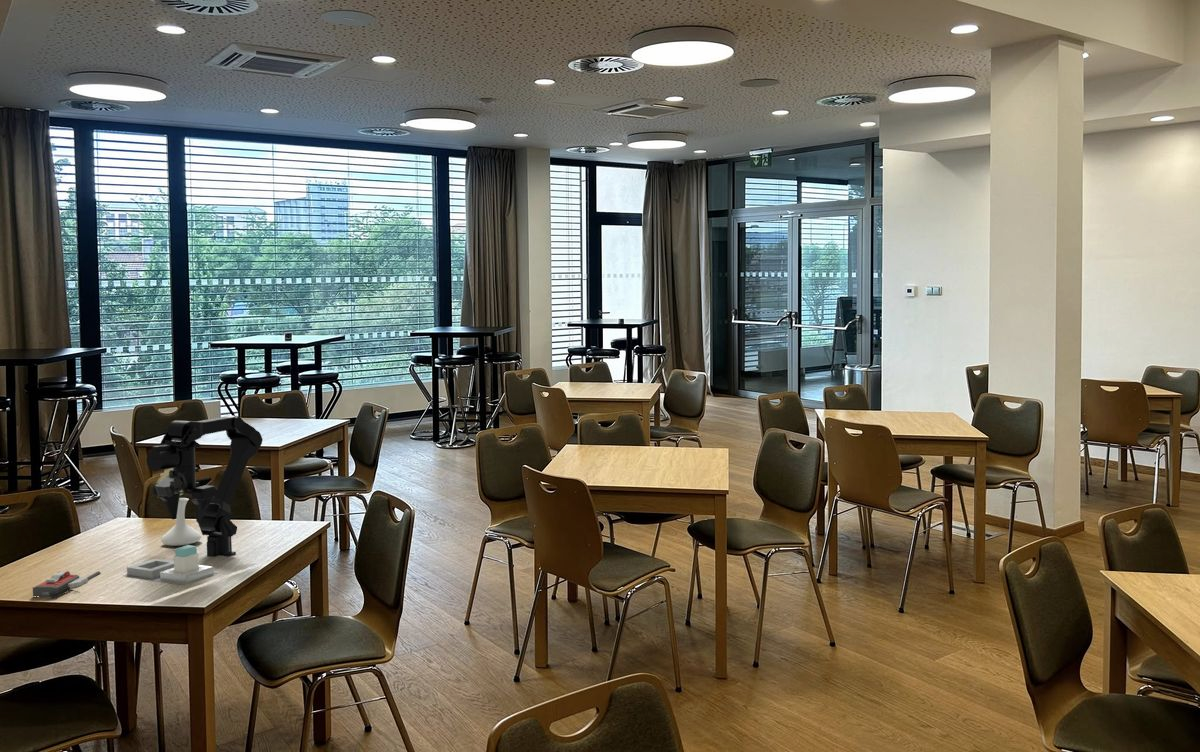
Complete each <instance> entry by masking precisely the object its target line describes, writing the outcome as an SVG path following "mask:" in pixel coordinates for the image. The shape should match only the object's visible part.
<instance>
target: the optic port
mask: <svg viewBox="0 0 1200 752" xmlns="http://www.w3.org/2000/svg"><path fill="white" fill-rule="evenodd" d="M213 572H214V566H211V565H203V564H199V569H197V570H194V571H191V572H188V573H185V574H183V573H176V572H174V568H172V569H168V570H165V571H162V572H160V580H166V581H173V582H179V583H188V584H190V583H189V582H191V583H193V582H192V581H194V580H197V579H200V578H203V577H206V576H208V577H210V576H209V575H211V576H213V575H212V574H213ZM206 578H207V577H206ZM203 579H204V578H203ZM200 580H201V579H200ZM197 581H198V580H197ZM194 582H195V581H194Z"/></svg>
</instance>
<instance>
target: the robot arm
mask: <svg viewBox="0 0 1200 752" xmlns="http://www.w3.org/2000/svg"><path fill="white" fill-rule="evenodd" d="M220 432H225V433H226V437H227V438H228V439H229V440H231V441H230V443H229V444H230V445H229V447H230V453H231V455H230V458H229V460H228V463H227V465H226V468H225V470H224V472H223V475H222V478H221V480H220V482H219V485H218V486H217V487H216V486H214V485H206V484H205V485H204V484H203V485H202V486H200V482H197V481H196V480H197V477H196V473H198V472H200V469H199V467H196V451H195V450H196V449H197V448H201V447H202V445H201V444H200V443H199V442H197V440H199V439H201V438H202V437H203V436H205V435H209V434H215V433H220ZM262 444H263V437H262V434H261V432H260V431H258V430H257V429H256V428H255V427H254V426H252V425H251V424H249V423H247V422H246V421H245V420H243V418H242V417H240V416H239V415H230V414H229V415H228V414H226V415H224V416H221V417H215V418H214V417H213V418H210V419H202V420H198V421H197V420H196V421H192V420H191V421H190V420H189V421H188V420H173V421H170V423H169V425H168V428H167V430H166V431H165V433H164V436H163V438H162V439H161V441H160V443H159V445H153V446H152V447H151V451H149V452H148V454H147V457H146V465H147V467H148V469H150V470H151V471H152V472H155V473H156V472H160V471H165V469H170V468H173V470H170V472H169V477H167V478H165V479H163V480H162V481H161V482H159V483H155V484H154V486H152V495H156V498H158V499H159V500H162V501H163V502H164V504H165V506H166V509H167V510H168V513H169V515H170V518H171V520H175V519H176V520H177V511H178V503H179V498H180V493H184V494H187V495H191V497H192V499H190V501H191V502H192V503H193V504H194V508H195V520H196V523H197V524H198V527H199V529H200V532H201V536H207V537H206V541H207V542H206V556H207V557H213V558H214V557H218V556H221V557H231V556H233V555H237V552H236V551H232V550H233V549H232V537H233V536H235V535H236V534H237V531H238V526H237V525H236V524H234V523H233V522H232V520H231V518H232V516H233V515H232V510H231V509H232V508H231V503H232V502H233V501H232V500H233V498H234V496H235V493H236V492H237V489H238V486H239V484H240V481H241V478H242V476H243V474H244V471H245V468H246V466H247V464H248V461H249V460H250V459H252V458H253V457H254V456H255V455H256V454H258V451H259V449H260V448H261V446H262ZM184 494H183V495H184Z"/></svg>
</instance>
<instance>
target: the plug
mask: <svg viewBox="0 0 1200 752" xmlns="http://www.w3.org/2000/svg"><path fill="white" fill-rule="evenodd" d="M174 555H175V556H174ZM174 555H173V561H174V572H176V573H183V574H185V573H188V572H191V571H194V570H197V569H199V565H200V564H199V563H200V562H199V553H198V552H197V545H192V544H188V545H182V546H179V547H176V548H174Z"/></svg>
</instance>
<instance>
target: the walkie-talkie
mask: <svg viewBox="0 0 1200 752" xmlns="http://www.w3.org/2000/svg"><path fill="white" fill-rule="evenodd" d="M100 574H101V571H96V572H94V573H92V574H90V575H89V576H87V577H80V575H78V574H71V572H70V571H69V570H67V571H65V570H64V571H63V570H59V571H57V572H56V573H54V574H52V575H51V577H50V578H47V579H45V580H44V581H43V582H41V583H40V584H39V583H38V585H36V586H35V585H34V586H33V587H32V597H33V596H36V597H37V596H39V597H55V598H59V597H61V596H62V595H64V594H66V593H68V592H73V591H75V589H73V588H77V587H81V586H82V585H84V584H87V583H88V582H89V581H90V580H92V579H94V578H95V577H96V576H98V575H100ZM67 591H68V592H67ZM65 592H66V593H65ZM63 593H64V594H63ZM60 595H61V596H60Z"/></svg>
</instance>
